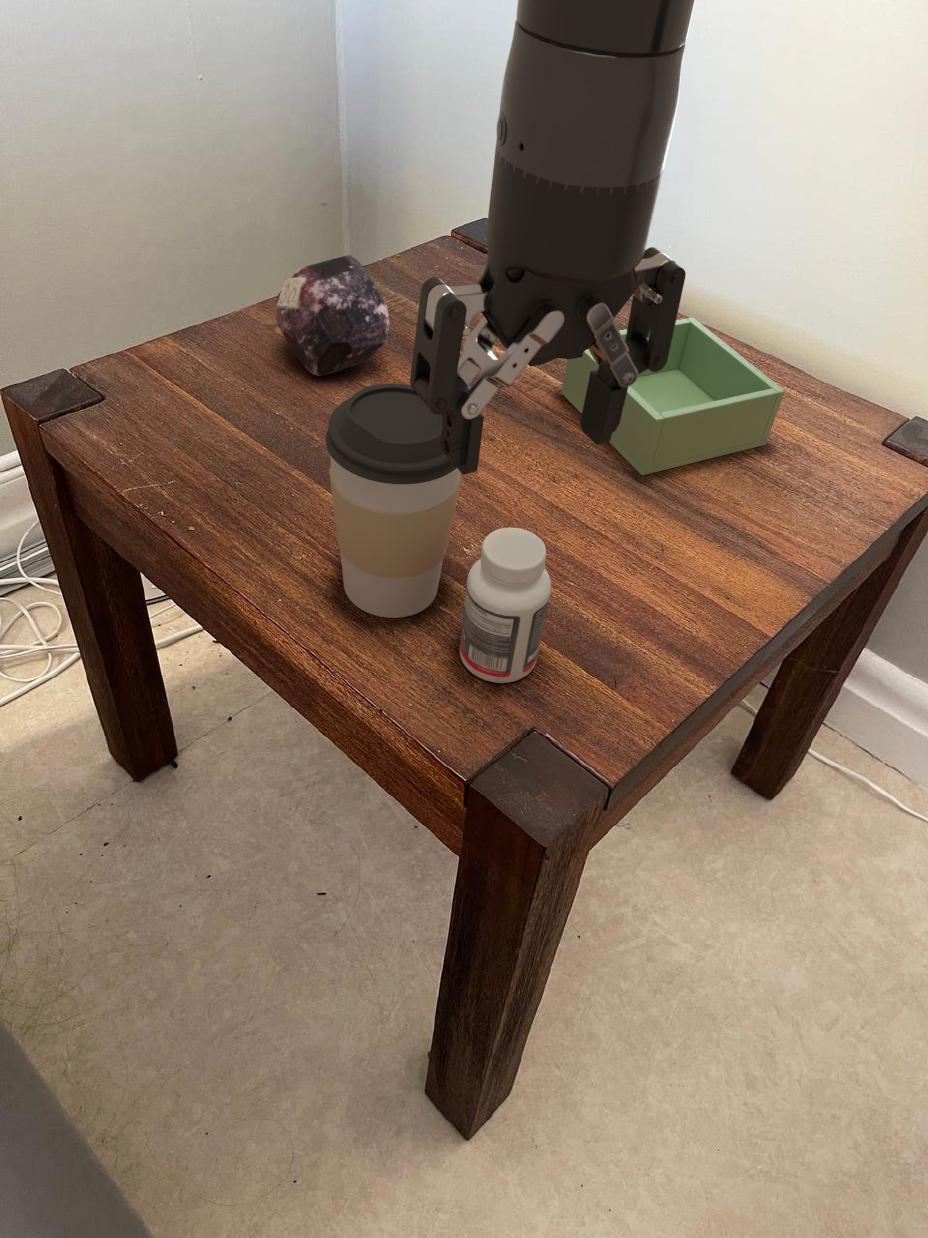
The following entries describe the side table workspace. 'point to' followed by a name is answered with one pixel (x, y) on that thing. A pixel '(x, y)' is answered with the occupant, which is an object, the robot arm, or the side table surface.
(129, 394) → the side table surface
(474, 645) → the pill bottle
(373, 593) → the coffee cup
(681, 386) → the bin
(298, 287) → the mineral specimen
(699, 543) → the side table surface
